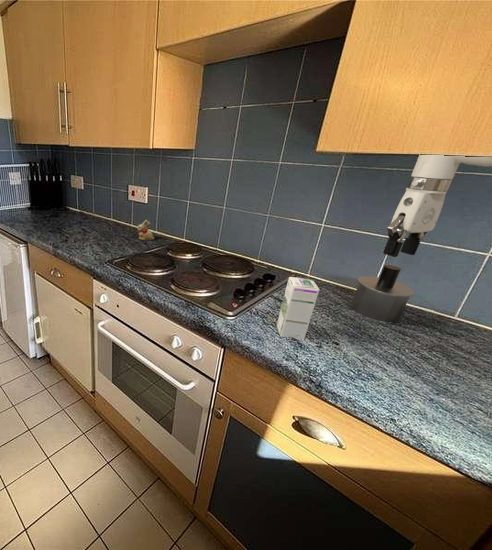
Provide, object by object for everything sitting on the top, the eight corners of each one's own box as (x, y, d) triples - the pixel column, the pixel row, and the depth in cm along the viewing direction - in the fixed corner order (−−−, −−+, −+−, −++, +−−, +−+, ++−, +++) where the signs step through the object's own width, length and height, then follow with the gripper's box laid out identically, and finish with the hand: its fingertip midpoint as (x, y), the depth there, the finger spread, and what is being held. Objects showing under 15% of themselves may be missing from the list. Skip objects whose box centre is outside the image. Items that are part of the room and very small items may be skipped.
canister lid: (362, 276, 94) (370, 256, 91) (415, 290, 85) (425, 269, 83) (351, 287, 86) (359, 265, 83) (408, 304, 77) (419, 280, 75)
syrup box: (304, 341, 74) (322, 289, 68) (278, 337, 75) (293, 285, 70) (299, 329, 79) (314, 279, 73) (274, 325, 81) (288, 275, 75)
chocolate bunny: (141, 236, 154) (142, 216, 150) (155, 239, 150) (156, 219, 146) (135, 238, 149) (136, 218, 145) (149, 241, 145) (150, 221, 141)
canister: (355, 300, 96) (365, 275, 93) (401, 314, 88) (413, 288, 85) (345, 311, 89) (355, 285, 85) (394, 328, 81) (407, 300, 78)
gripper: (422, 188, 68) (391, 261, 75) (468, 187, 73) (435, 256, 81) (387, 183, 75) (361, 252, 82) (432, 183, 80) (404, 248, 87)
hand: (398, 253), depth 81 cm, fingers open, 6 cm apart
